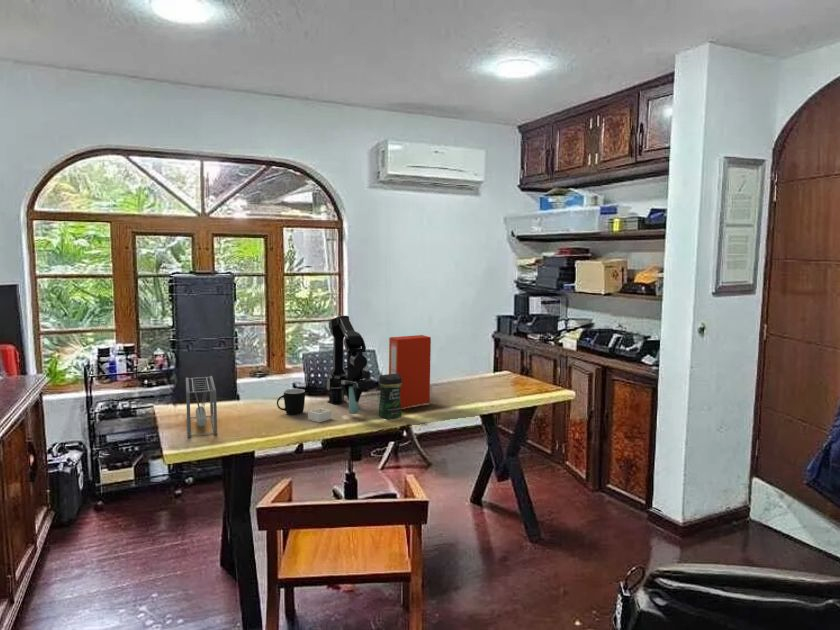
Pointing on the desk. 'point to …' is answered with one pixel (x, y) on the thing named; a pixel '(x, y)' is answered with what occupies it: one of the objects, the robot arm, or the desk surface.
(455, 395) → the desk surface
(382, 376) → the coffee jar
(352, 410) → the dowel
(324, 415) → the white square tray
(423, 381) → the file binder
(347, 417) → the coaster
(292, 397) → the mug
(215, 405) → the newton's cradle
